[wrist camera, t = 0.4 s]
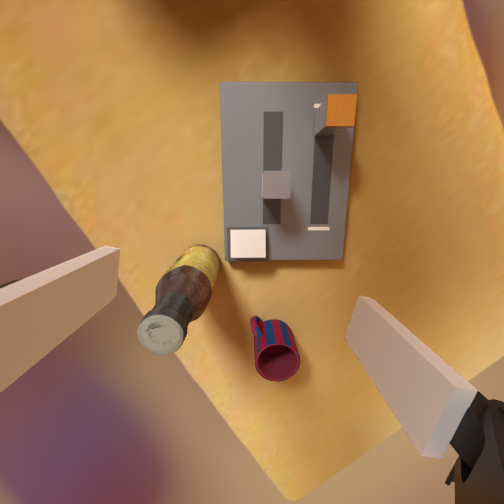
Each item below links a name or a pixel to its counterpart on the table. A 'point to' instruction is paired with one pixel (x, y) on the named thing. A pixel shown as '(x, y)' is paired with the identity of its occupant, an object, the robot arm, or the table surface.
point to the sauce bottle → (179, 300)
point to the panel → (285, 168)
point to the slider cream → (276, 184)
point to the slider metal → (335, 114)
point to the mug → (274, 349)
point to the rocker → (248, 243)
